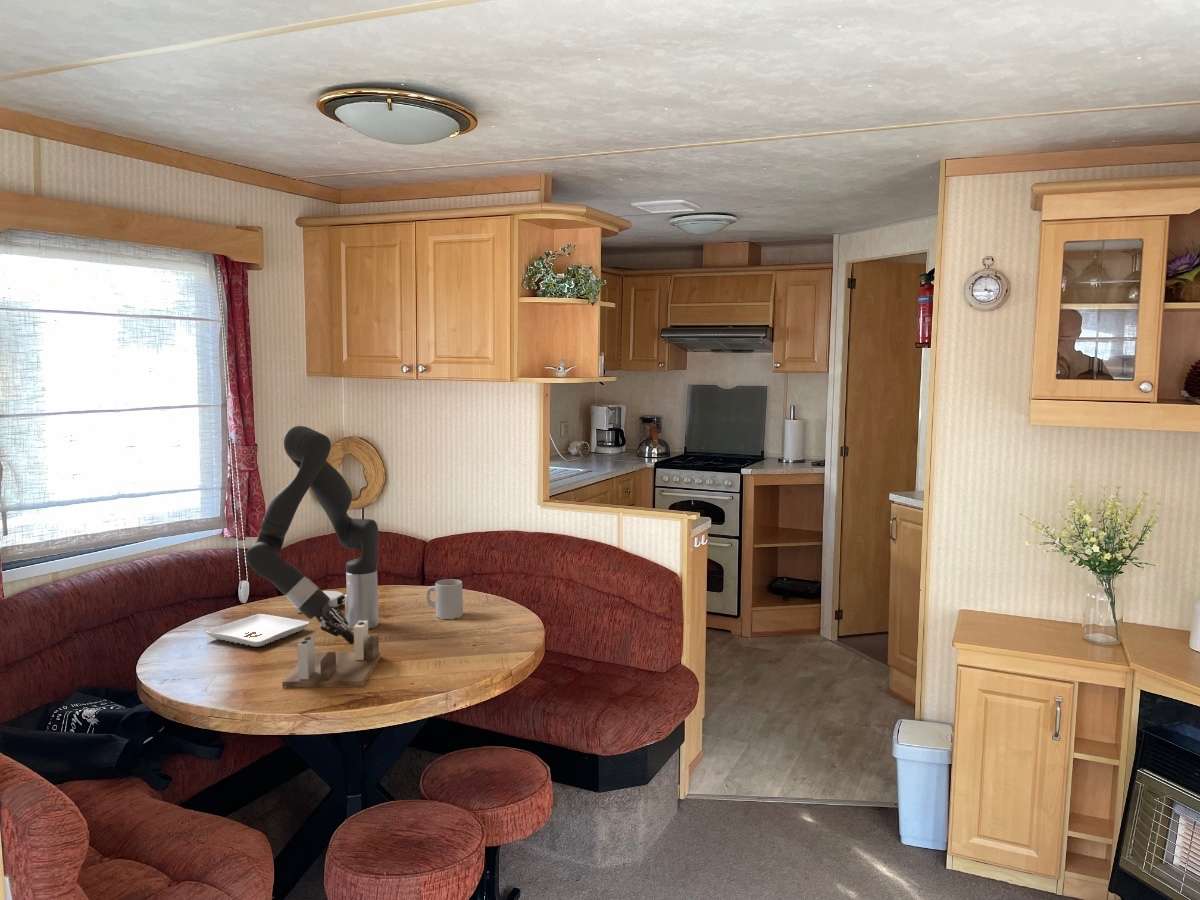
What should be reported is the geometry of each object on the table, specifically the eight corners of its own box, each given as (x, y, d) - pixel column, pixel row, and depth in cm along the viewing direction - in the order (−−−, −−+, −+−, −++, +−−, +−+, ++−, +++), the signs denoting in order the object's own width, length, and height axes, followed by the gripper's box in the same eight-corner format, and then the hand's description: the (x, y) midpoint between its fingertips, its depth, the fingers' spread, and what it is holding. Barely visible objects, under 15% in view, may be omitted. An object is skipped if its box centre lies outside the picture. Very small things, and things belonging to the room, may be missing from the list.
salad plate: (312, 631, 271) (311, 620, 270) (258, 652, 252) (258, 641, 251) (259, 623, 280) (259, 612, 279) (204, 642, 260) (203, 631, 260)
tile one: (354, 660, 239) (353, 626, 238) (360, 652, 245) (358, 619, 244) (363, 659, 240) (362, 626, 239) (368, 652, 245) (367, 619, 244)
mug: (467, 613, 289) (466, 579, 288) (456, 620, 281) (456, 586, 279) (432, 610, 292) (431, 577, 290) (421, 618, 283) (420, 584, 282)
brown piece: (282, 687, 224) (281, 662, 224) (308, 657, 246) (307, 634, 245) (362, 686, 225) (361, 661, 224) (381, 657, 247) (380, 634, 246)
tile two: (298, 679, 225) (297, 643, 224) (305, 671, 231) (304, 636, 230) (308, 679, 225) (307, 643, 224) (315, 670, 231) (313, 635, 230)
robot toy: (324, 620, 285) (352, 604, 299) (323, 606, 284) (351, 591, 298) (292, 616, 289) (321, 600, 303) (291, 602, 288) (320, 588, 302)
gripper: (310, 594, 234) (358, 639, 235) (324, 581, 247) (370, 624, 248) (290, 614, 234) (338, 659, 236) (305, 600, 247) (351, 643, 249)
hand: (354, 641), depth 242 cm, fingers closed
